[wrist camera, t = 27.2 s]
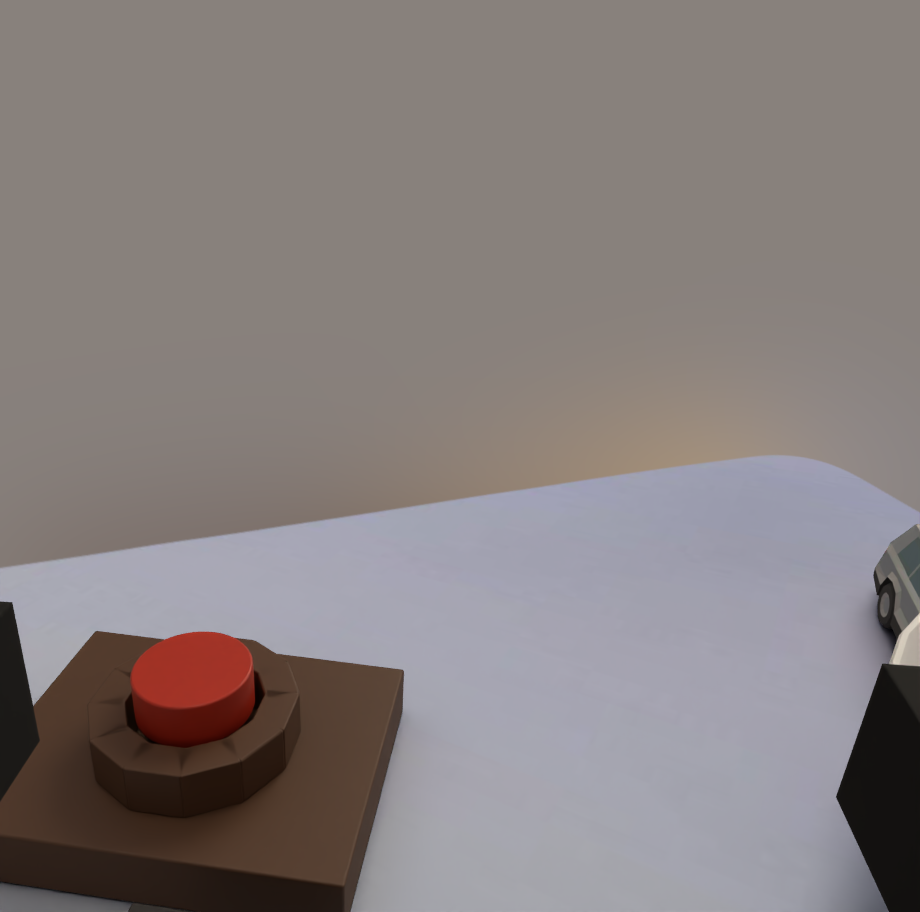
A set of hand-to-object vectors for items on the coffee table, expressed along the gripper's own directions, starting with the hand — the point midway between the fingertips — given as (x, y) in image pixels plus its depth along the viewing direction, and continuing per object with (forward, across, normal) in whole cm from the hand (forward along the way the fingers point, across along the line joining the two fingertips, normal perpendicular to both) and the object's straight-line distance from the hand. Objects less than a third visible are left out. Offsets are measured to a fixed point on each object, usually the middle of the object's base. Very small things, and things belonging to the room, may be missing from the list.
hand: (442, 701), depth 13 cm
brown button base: (+12, +9, +16) cm, 22 cm away
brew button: (+13, +9, +12) cm, 19 cm away
